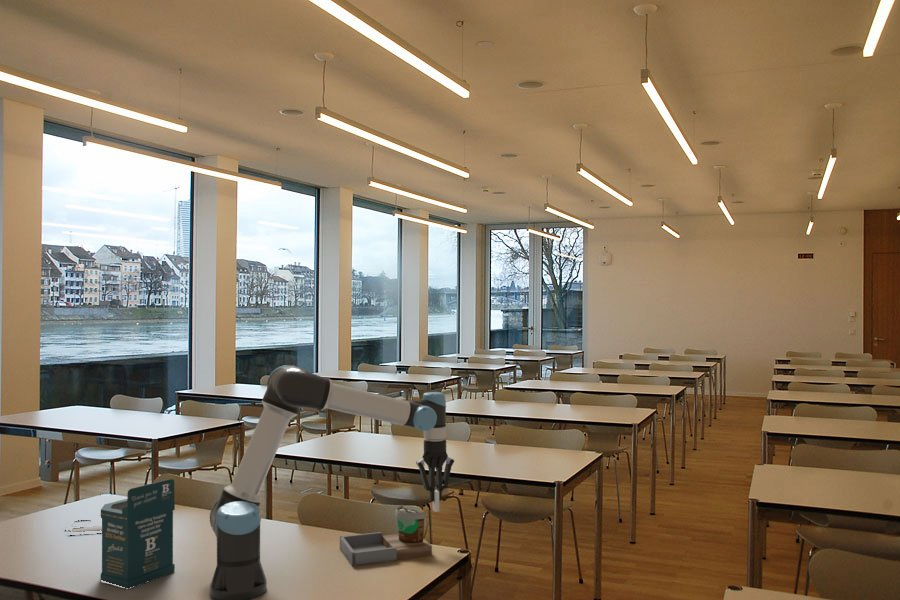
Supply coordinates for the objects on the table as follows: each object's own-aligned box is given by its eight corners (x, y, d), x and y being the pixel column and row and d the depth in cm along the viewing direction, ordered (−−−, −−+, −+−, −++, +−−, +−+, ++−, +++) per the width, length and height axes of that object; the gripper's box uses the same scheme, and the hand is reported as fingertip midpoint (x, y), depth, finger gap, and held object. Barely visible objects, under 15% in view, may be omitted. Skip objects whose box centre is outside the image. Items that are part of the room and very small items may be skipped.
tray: (396, 560, 227) (396, 547, 227) (352, 566, 222) (352, 553, 222) (381, 543, 244) (381, 531, 244) (339, 548, 239) (339, 536, 239)
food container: (387, 538, 240) (387, 507, 240) (401, 534, 244) (401, 504, 245) (411, 547, 231) (411, 515, 231) (426, 542, 235) (425, 511, 236)
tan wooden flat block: (431, 555, 233) (431, 545, 233) (395, 559, 228) (395, 550, 228) (416, 540, 247) (416, 531, 248) (381, 544, 243) (381, 535, 243)
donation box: (127, 590, 204) (127, 489, 205) (91, 580, 212) (91, 483, 213) (174, 572, 219) (174, 478, 219) (138, 563, 226) (139, 472, 227)
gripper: (449, 436, 248) (450, 505, 248) (412, 438, 243) (413, 510, 243) (457, 439, 241) (458, 511, 241) (419, 442, 236) (420, 515, 236)
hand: (435, 510), depth 242 cm, fingers closed
